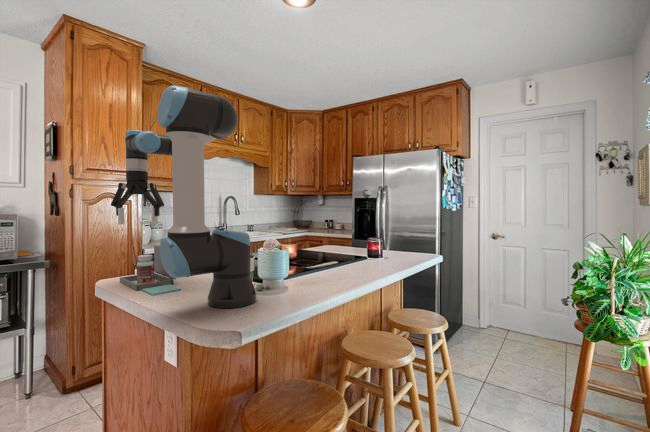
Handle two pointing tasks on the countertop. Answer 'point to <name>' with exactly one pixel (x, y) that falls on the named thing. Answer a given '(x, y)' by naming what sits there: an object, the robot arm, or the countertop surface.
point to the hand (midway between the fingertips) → (138, 224)
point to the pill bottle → (145, 269)
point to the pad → (161, 289)
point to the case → (159, 270)
